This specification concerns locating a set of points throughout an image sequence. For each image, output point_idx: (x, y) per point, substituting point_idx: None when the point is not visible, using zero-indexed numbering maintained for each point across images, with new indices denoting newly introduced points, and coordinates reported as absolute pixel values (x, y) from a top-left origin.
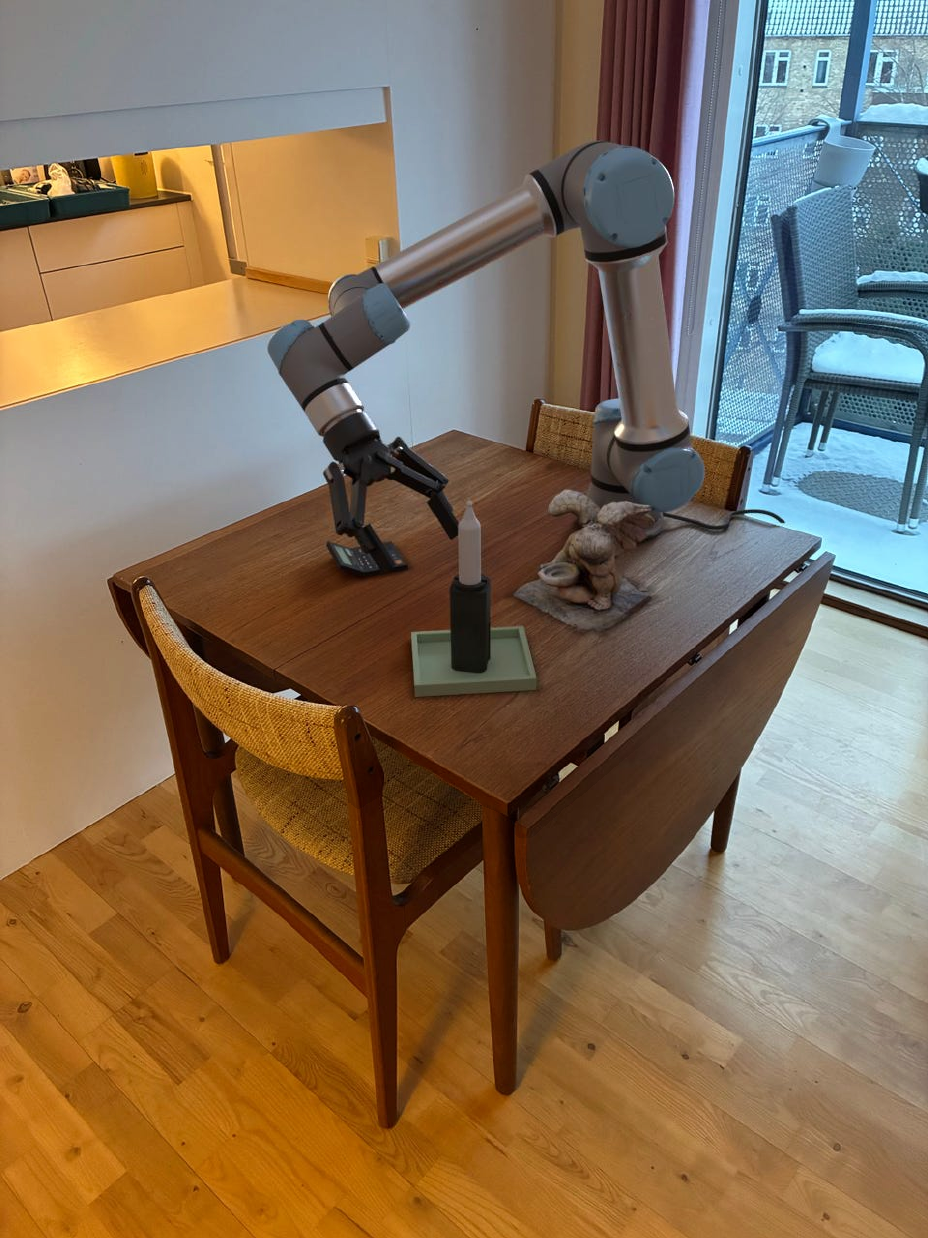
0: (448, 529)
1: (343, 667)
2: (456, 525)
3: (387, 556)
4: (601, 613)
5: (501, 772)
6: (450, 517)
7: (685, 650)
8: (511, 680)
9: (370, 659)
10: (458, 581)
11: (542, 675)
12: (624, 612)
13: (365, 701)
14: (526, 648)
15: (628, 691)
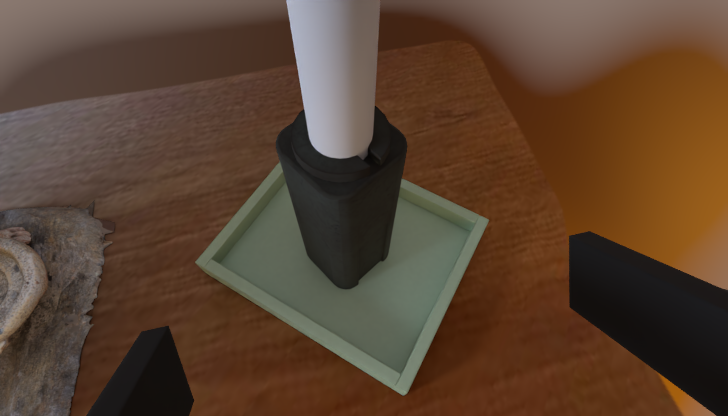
0: (173, 411)
1: (578, 402)
2: (154, 347)
3: (616, 248)
4: (35, 230)
5: (451, 63)
6: (137, 387)
7: (59, 104)
8: None
9: (512, 394)
10: (375, 141)
11: (271, 167)
12: (4, 211)
13: (566, 269)
14: (254, 198)
15: (210, 85)
